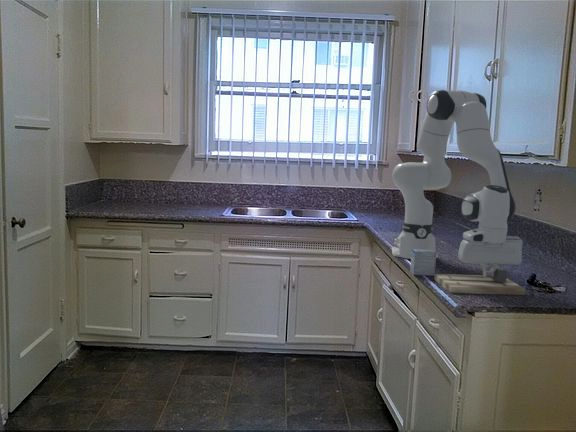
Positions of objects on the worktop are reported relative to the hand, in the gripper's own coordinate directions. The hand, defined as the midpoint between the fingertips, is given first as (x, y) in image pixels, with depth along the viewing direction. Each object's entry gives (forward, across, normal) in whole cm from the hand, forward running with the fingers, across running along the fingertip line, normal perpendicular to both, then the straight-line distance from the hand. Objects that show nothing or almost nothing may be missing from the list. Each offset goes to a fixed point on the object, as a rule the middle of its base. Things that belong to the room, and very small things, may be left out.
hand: (487, 276), depth 170 cm
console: (+4, +3, 0) cm, 5 cm away
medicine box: (+4, +17, -15) cm, 23 cm away
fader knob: (+1, -4, 0) cm, 4 cm away
